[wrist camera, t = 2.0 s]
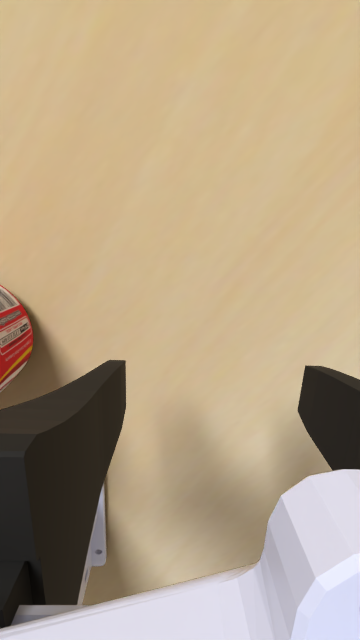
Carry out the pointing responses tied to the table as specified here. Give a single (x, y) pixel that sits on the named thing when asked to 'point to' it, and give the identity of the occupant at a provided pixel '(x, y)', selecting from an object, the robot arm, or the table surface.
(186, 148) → the table surface
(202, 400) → the table surface
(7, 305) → the soda can
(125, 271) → the table surface
